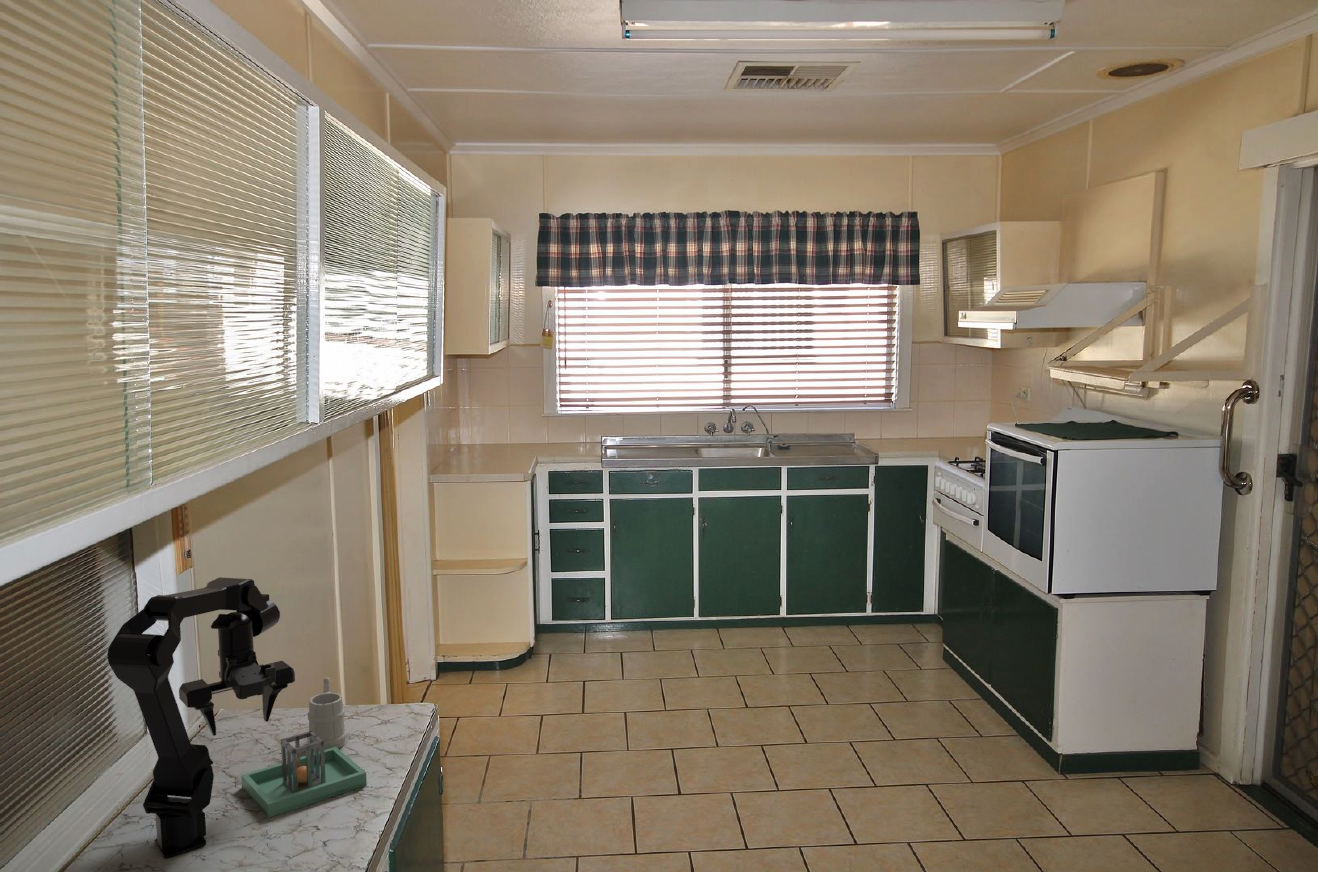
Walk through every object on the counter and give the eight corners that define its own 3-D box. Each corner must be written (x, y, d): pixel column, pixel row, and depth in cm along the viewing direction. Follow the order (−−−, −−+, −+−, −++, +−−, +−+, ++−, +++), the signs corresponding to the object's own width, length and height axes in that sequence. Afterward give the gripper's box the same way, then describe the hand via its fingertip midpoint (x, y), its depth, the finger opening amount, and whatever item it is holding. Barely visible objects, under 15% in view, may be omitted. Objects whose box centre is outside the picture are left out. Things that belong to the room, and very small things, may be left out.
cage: (294, 794, 174) (292, 750, 173) (282, 782, 178) (280, 739, 177) (325, 784, 178) (323, 741, 177) (313, 773, 182) (311, 730, 181)
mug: (306, 755, 191) (303, 697, 189) (309, 730, 202) (307, 676, 200) (346, 750, 193) (344, 693, 191) (347, 726, 204) (345, 672, 203)
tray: (268, 817, 167) (267, 804, 167) (241, 787, 178) (241, 775, 177) (366, 785, 179) (366, 772, 179) (336, 758, 189) (335, 746, 189)
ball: (302, 788, 176) (301, 774, 175) (290, 783, 177) (290, 768, 176) (315, 780, 178) (314, 765, 178) (303, 775, 180) (302, 761, 179)
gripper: (194, 671, 161) (199, 758, 163) (304, 646, 173) (308, 728, 175) (175, 653, 169) (180, 736, 171) (282, 630, 182) (285, 709, 184)
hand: (240, 727), depth 175 cm, fingers open, 9 cm apart
